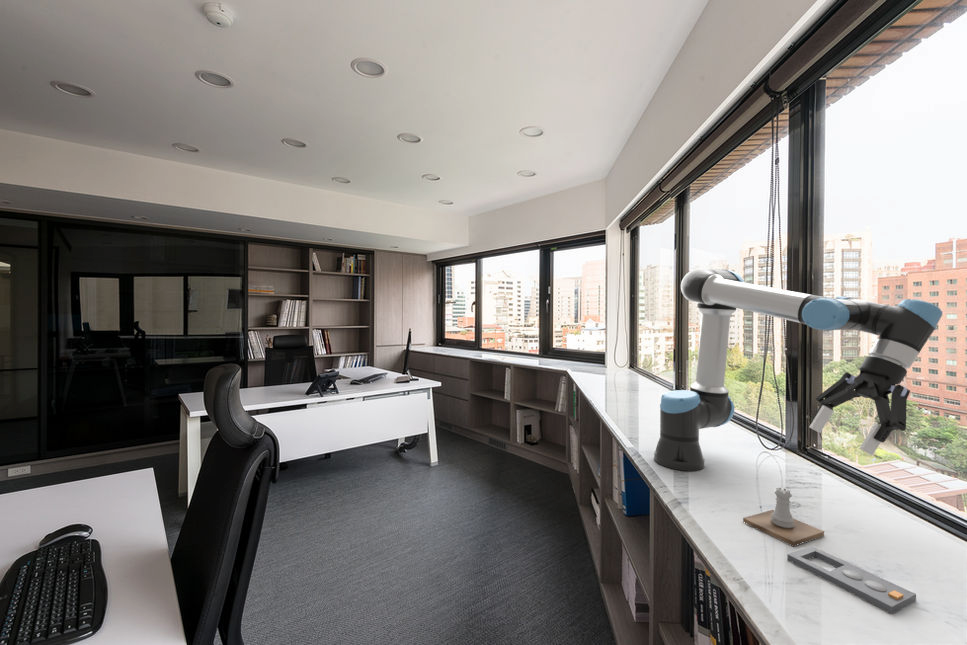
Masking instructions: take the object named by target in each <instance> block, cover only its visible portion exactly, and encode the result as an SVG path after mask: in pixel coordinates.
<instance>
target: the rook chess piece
mask: <svg viewBox="0 0 967 645" xmlns="http://www.w3.org/2000/svg"><path fill="white" fill-rule="evenodd" d="M774 494H775V495H776V498H775V502H776V504H775V508H774V509H773V510H774V512H773V513H772V514H771V517H772V518H771V521H772V523H773V524H775V525H777V526H779V527H782V528H788V529H790V528H792V527H794V523H793V522H794V519H795V518H794V519H793V517H792V516H793V515H792V514H791V510H790V504H791V500H790V499H791V498H792V496H793V495H792V494H791V490H789V489H787V488H785V487H784V488H783V489H782V487H776V490H775V491H774Z"/></svg>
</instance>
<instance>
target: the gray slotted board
mask: <svg viewBox="0 0 967 645" xmlns="http://www.w3.org/2000/svg"><path fill="white" fill-rule="evenodd" d="M786 556H787V559H786V560H787V562H791V563H793V564H794V565H796V566H798V567H800V568H802V569H804V570H806V571H807V572H810V573H812V574H813V575H816V576H818V577H819V578H821V579H824V580H825V581H827V582H829V583H831V584H833V585H835V586H837V587H838V588H840V589H842V590H845V591H847V592H849V593H851V594H852V595H854V596H856V597H858V598H861V599H862V600H864V601H866V602H868V603H870V604H871V605H874V606H875V607H877V608H879V609H882V610H883V611H885V612H887V613H889V614H891V615H893V614H894V613H896V612H898V611H901V609H904V608H905V607H908V606H909V605H911V604H913V603H915V602H916V601H917V593H915V592H912V591H910V590H908V589H906V588H904V587H902V586H899V585H897V584H895V583H893V582H891V581H889V580H888V579H887V580H886V579H885V578H883V577H880V576H878V575H876V574H874V573H872V572H870V571H867V570H865V569H863V568H861V567H858V566H857V565H854V564H852V563H849V562H848V561H846V560H843V559H841V558H839V557H837V556H834V555H832V554H831V553H829V552H826V551H824V550H822V549H821V548H820V549H819V548H817V547H815V546H813V545H810V546H807V547H803V548H801V549H797V550H795V551H792V552H790V553H787V555H786ZM812 557H813V558H817V559H818V560H821V561H823V562H825V563H827V564H829V565H831V566H834V567H836V568H834V569H832V570H829V569H826V568H824V567H822V566H820V565H818V564H816V563H814V562H813V561H810V559H809V558H811V559H813V558H812ZM807 559H808V560H807Z"/></svg>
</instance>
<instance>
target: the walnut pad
mask: <svg viewBox="0 0 967 645" xmlns="http://www.w3.org/2000/svg"><path fill="white" fill-rule="evenodd" d="M774 510H775V509H770V510H766V511H763V512H759V513H756V514H752V515H748V516H746V517H742V520H743V521H742V523H744V522H745V523H744V524H746V523H747V524H746V525H748V526H750V527H752V528H755V529H757V530H759V531H761V532H763V533H765V534H766V535H769V536H771V537H774V538H775V539H777V540H779V541H781V542H783V541H784V543H785V542H786V543H785V544H787V543H788V545H790V544H791V545H790V546H792V545H793V546H792V547H796V546H798V545H797V544H799V545H801V544H800V543H802V542H805V543H807V542H806V541H808V542H810V541H809V540H811V541H813V540H816V539H818V538H821V537H824V536H825V531H824V530H822V529H820V528H817V527H815V526H812V525H810V524H808V523H806V522H804V521H800V520H798V519H796V518H793V517H792V518H793V519H794V522H793V523H794V527H792V528H790V529H788V528H782V527H779V526H777V525H775V524H773V523H772V521H771V518H772V517H771V514H772V513H773V512H774ZM815 538H816V539H815ZM812 539H813V540H812ZM802 544H803V543H802ZM795 545H796V546H795Z"/></svg>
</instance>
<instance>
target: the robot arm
mask: <svg viewBox="0 0 967 645" xmlns="http://www.w3.org/2000/svg"><path fill="white" fill-rule="evenodd" d="M680 290H681V293H682V295H683V297H684V298H685V299H686V300H688V301H689V302H691V303H694V304H697V305H696V309H697V310H698V311H699V313H700V314H701V315H700V316H701V317H700V328H699V329H700V330H699V340H698V350H697V353H698V354H697V360H696V361H697V364H696V365H697V366H696V375H695V382H693V383H692V384H691V385H690V388H689V389H688V390H686V389H679V390H677V389H676V390H670V391H665V392H664V393H663V394H662V395H661V397H660V404H659V408H660V411H659V413H660V414H659V415H660V417H659V418H660V419H659V430H660V431H659V440H658V441H657V445H656V447H655V450H654V453H653V460H654V461H655V462H656V463H657V464H659V465H661V466H663V467H666V468H668V469H669V468H670V469H674V470H677V471H686V472H687V471H690V472H692V471H695V472H696V471H700V470H703V469H704V468H705V458H704V456H703V452H702V448H701V445H700V442H699V441H700V438H699V437H700V430H701V429H708V428H719V427H721V426H724V425H725V424H727V423H728V422H730V421H731V420H732V418H733V417H734V413H735V403H734V401H732V400H731V399H732V398H731V397H730V396H729V392H730V391H729V389H728V388H727V387H726V386H725V378H726V366H727V357H728V355H727V354H728V348H729V347H728V345H729V334H730V333H729V332H730V326H731V325H730V324H731V315H733V314H734V313H735V312H737V309H739V310H742V311H748V312H752V313H756V314H760V315H764V316H769V317H772V318H773V317H774V318H778V319H781V320H786V321H790V322H795V323H799V324H803V325H805V326H806V325H807V326H808V327H810V328H811V329H815V330H820V331H828V332H829V331H842V330H847V331H848V330H850V331H851V330H855V331H858V332H863V333H869V334H871V335H875V336H878V337H877V339H876V341H874V344H873V345H872V347H871V348H870V349H869V351H868V356H866V357H865V358H864V360H863V361H862V362H861V364H860V366H859V368H858V369H859V374H858V375H857V376H855V375H853V374H852V373H850V372H847V371H846V372H845V373H844V374H843V375H842V376H841V377H840V378H839V379H838V380H837V381H836V382H835V383H833V384H832V385H831V386H829V387H828V388H827V389H825V390H824V391H823V392H821V393H820V394H818V396H816V398H815V400H816V401H817V402H819V403H820V405H819V407H818V409H817V411H816V412H815V414H814V416H815V417H814V418H813V419H812V422H811V423H810V425H809V427H808V428H810V429H812V430H813V431H815V432H817V433H820V434H821V432H822V431H823V429H824V428H825V426H826V425H827V423H828V422H829V420H830V418H831V416H832V415H833V414H834V408H836V407H837V406H839V405H842V404H845V403H846V402H849V401H850V400H853V399H855V398H861V397H862V398H865V399H870V400H873V402H874V405H875V408H876V412H877V417H878V420H879V421H878V422H877V423H874V424H873V426H872V428H871V430H870V431H868V434H867V436H866V437H865V438H864V440H863V442H862V443H861V445H860V447H859V449H860V450H861V451H863V452H865V453H866V454H868V455H871V456H873V455H874V454H875V452H876V450H877V449H878V447H879V446H880V445H881V443H885V441H887V438H888V437H889V436H890V434H891V433H892V431H895V430H896V431H898V430H899V431H901V432H905V430H907V408H908V407H907V401H908V400H907V399H908V397H909V395H910V394H911V390H910V389H908V388H907V387H905V386H903V385H901V383H902V381H903V380H904V378H905V376H906V375H907V373H908V369H910V368H911V366H912V365H913V363H915V361H916V359H917V357H918V356H919V354H920V352H921V350H922V349H923V348H924V346H925V344H926V343H927V341H928V340H929V338H930V337H931V336H932V334H933V332H934V331H935V330H936V329H937V326H938V324H939V323H940V320H941V318H942V317H943V311H942V309H941V308H940V307H939V306H937V305H936V304H933V303H931V302H928V301H925V300H920V299H915V298H914V299H910V298H905V299H902V300H901V301H900V302H899V303H898V304H897V305H889V304H887V305H886V304H882V303H877V302H873V301H868V300H865V299H864V300H863V299H858V298H857V297H848V296H836V297H834V298H833V297H827V296H820V295H813V294H809V293H804V292H799V291H791V290H788V289H787V290H786V289H782V288H781V289H780V288H775V287H770V286H764V285H759V284H754V283H748V282H745V280H744V278H743V277H742V276H741V275H740V274H739V273H737V272H735V271H732V270H728V269H718V268H717V269H716V268H715V269H714V268H706V267H705V268H704V267H700V268H699V267H698V268H695V269H692V270H690V271H689V272H687V273H686V274H685V275H684V277H683V278H682V280H681V283H680ZM890 394H891V396H890V397H889V395H890Z"/></svg>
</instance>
